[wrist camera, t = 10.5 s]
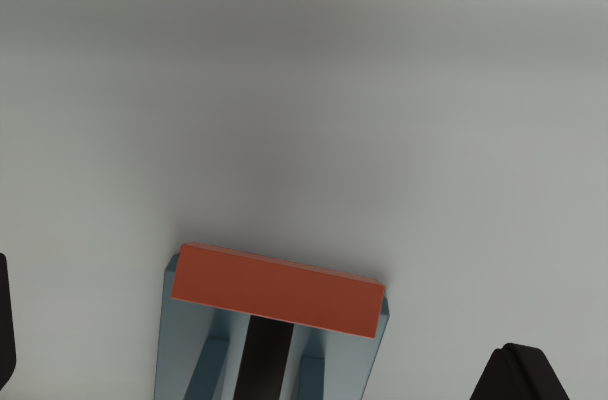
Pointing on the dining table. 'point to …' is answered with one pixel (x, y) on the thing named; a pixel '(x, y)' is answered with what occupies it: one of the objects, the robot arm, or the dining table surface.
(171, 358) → the bracket
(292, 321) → the lever
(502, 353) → the robot arm
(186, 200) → the dining table surface
